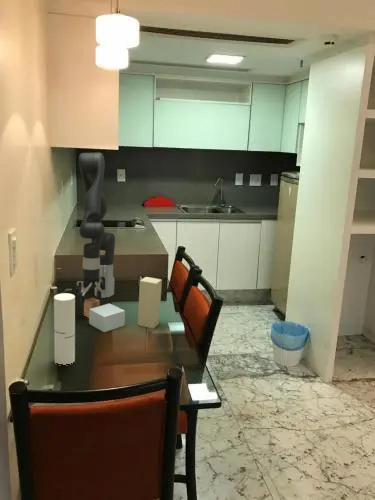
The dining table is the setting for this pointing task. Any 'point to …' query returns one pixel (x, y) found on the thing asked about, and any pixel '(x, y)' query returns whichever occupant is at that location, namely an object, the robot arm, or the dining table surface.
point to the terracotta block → (90, 305)
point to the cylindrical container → (64, 328)
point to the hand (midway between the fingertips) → (90, 301)
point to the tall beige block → (149, 302)
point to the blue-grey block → (106, 317)
